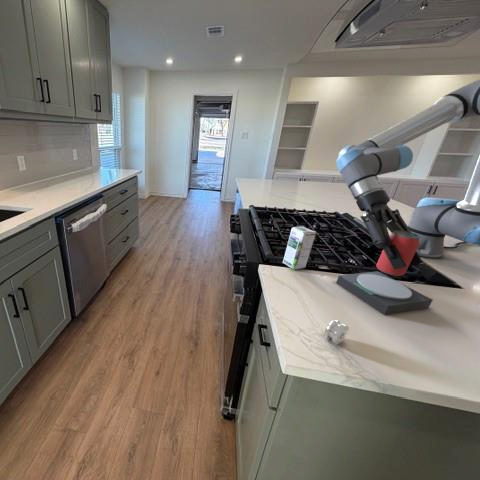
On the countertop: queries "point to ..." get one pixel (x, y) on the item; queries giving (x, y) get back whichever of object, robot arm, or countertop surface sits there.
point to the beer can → (406, 248)
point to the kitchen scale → (383, 292)
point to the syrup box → (299, 247)
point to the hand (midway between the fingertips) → (408, 266)
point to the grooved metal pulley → (336, 331)
